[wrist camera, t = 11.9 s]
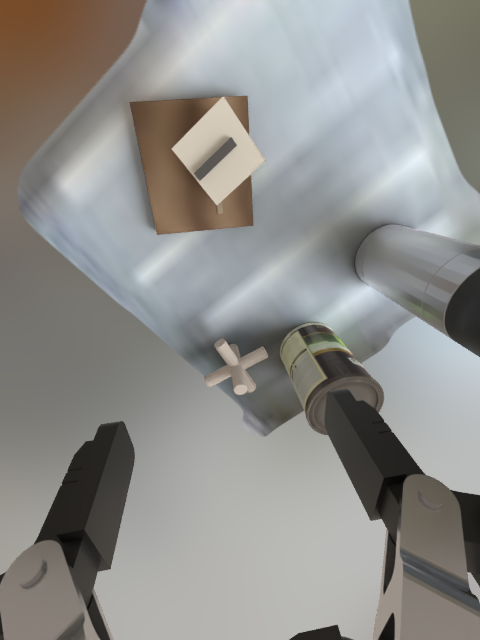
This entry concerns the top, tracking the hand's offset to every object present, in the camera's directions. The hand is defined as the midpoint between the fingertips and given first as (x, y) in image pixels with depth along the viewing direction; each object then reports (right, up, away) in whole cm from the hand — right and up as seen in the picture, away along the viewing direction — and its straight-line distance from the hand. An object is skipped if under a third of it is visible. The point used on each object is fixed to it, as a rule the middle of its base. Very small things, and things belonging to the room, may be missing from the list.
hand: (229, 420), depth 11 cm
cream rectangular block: (-2, +22, +20) cm, 30 cm away
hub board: (-5, +22, +22) cm, 31 cm away
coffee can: (+12, -1, +37) cm, 39 cm away
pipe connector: (-1, -1, +35) cm, 35 cm away
